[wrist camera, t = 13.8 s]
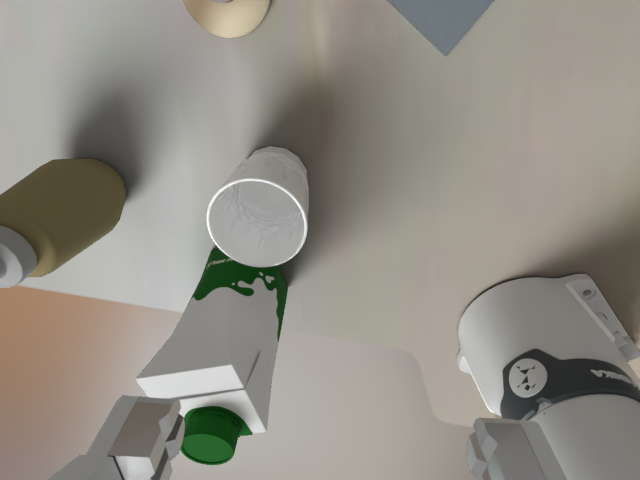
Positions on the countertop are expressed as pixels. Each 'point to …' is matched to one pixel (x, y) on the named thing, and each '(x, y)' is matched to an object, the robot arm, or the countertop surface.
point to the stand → (228, 15)
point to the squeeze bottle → (56, 216)
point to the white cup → (262, 209)
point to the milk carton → (222, 357)
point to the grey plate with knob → (442, 19)
